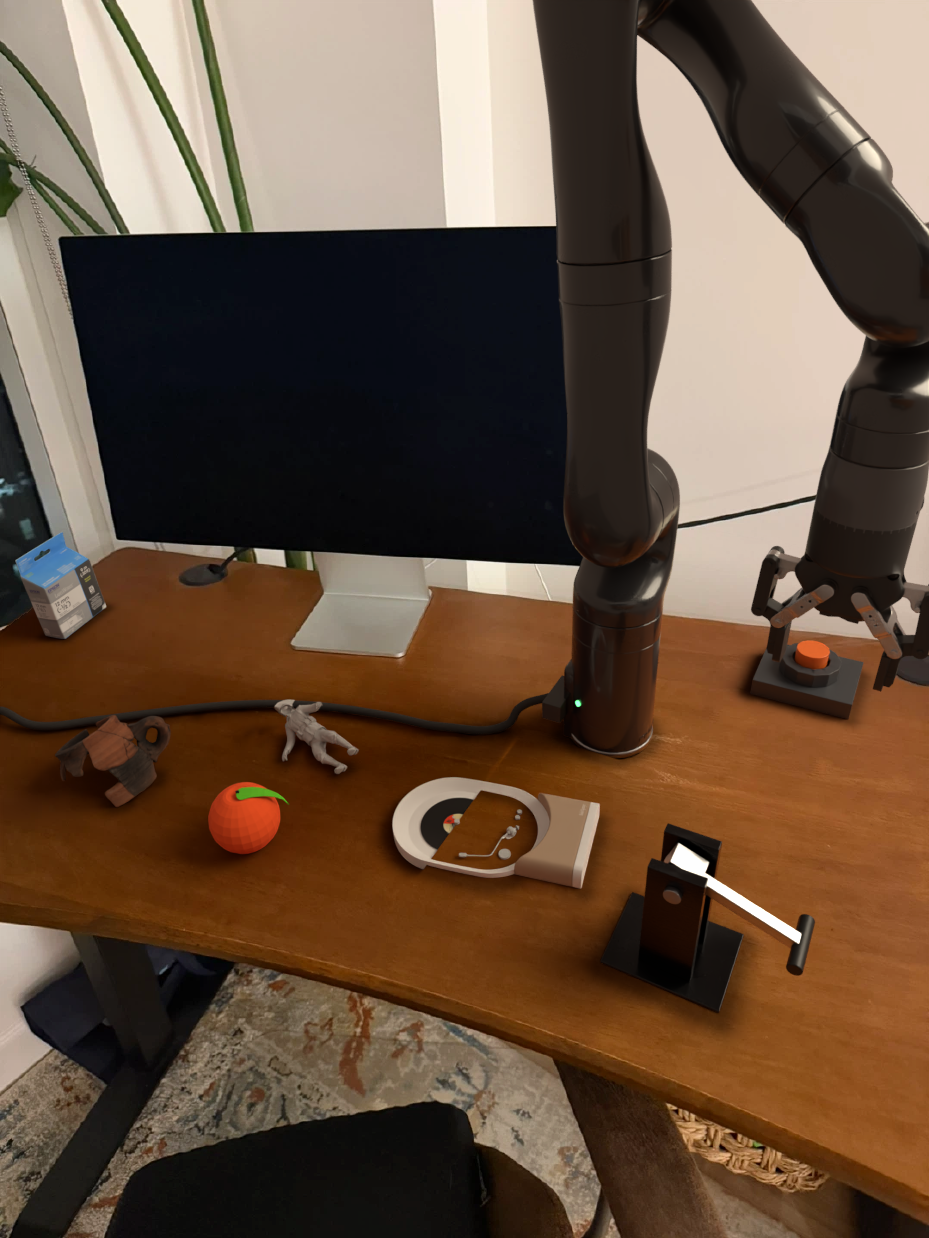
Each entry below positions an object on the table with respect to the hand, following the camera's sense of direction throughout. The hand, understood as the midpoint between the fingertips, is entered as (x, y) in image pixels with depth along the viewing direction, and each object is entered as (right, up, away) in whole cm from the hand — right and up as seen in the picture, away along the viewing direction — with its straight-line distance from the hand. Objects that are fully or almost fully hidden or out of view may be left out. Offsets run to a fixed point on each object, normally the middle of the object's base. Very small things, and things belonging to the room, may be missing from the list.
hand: (827, 671), depth 75 cm
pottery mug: (-70, -13, +20) cm, 74 cm away
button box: (+9, -3, +27) cm, 29 cm away
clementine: (-53, -18, +11) cm, 57 cm away
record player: (-30, -17, +10) cm, 36 cm away
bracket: (-14, -24, -3) cm, 28 cm away
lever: (-12, -18, -9) cm, 23 cm away
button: (+9, 0, +25) cm, 26 cm away
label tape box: (-88, +4, +48) cm, 101 cm away
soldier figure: (-49, -10, +22) cm, 55 cm away
